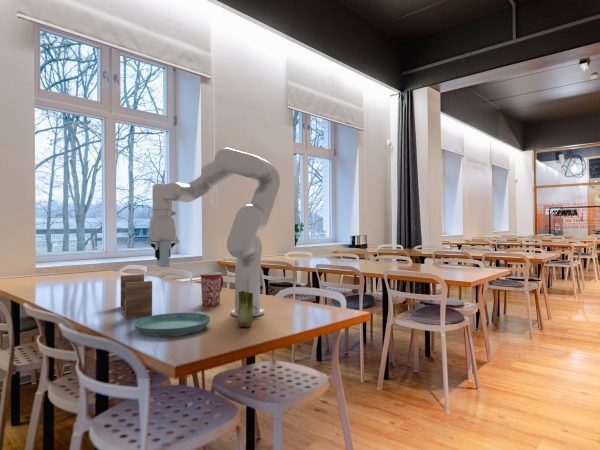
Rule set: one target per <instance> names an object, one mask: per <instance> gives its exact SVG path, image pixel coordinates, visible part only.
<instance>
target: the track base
mask: <svg viewBox="0 0 600 450" xmlns="http://www.w3.org/2000/svg"><path fill="white" fill-rule="evenodd" d="M120 306H121V307H120ZM120 306H119V307H120V308H121V311H122V314H123V315H125V316H124V318H125V320H130V319H141V318H144V317H148V316H153V281H152V280H147V281H145V274H125V275H120Z"/></svg>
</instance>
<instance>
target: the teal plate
mask: <svg viewBox="0 0 600 450" xmlns="http://www.w3.org/2000/svg"><path fill="white" fill-rule="evenodd" d="M210 321H211V316H210V315H208V314H204V313H198V312H171V313H170V312H169V313H160V314H155V315H153V314H152V316H148V317H142V318H137V319H135V320H134V322H133V323H132V324H133V327H134V328H135V329H136V330H137V331H138V332H139V333H141V334H142V335H145V336H149V337H159V338H160V337H166V338H167V337H179V336H184V335H185V336H187V335H191V334H194V333H197V332H199V331H202V330H203V329H204V328H205V327H206V326H207V325H208V324H209V323H210Z"/></svg>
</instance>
